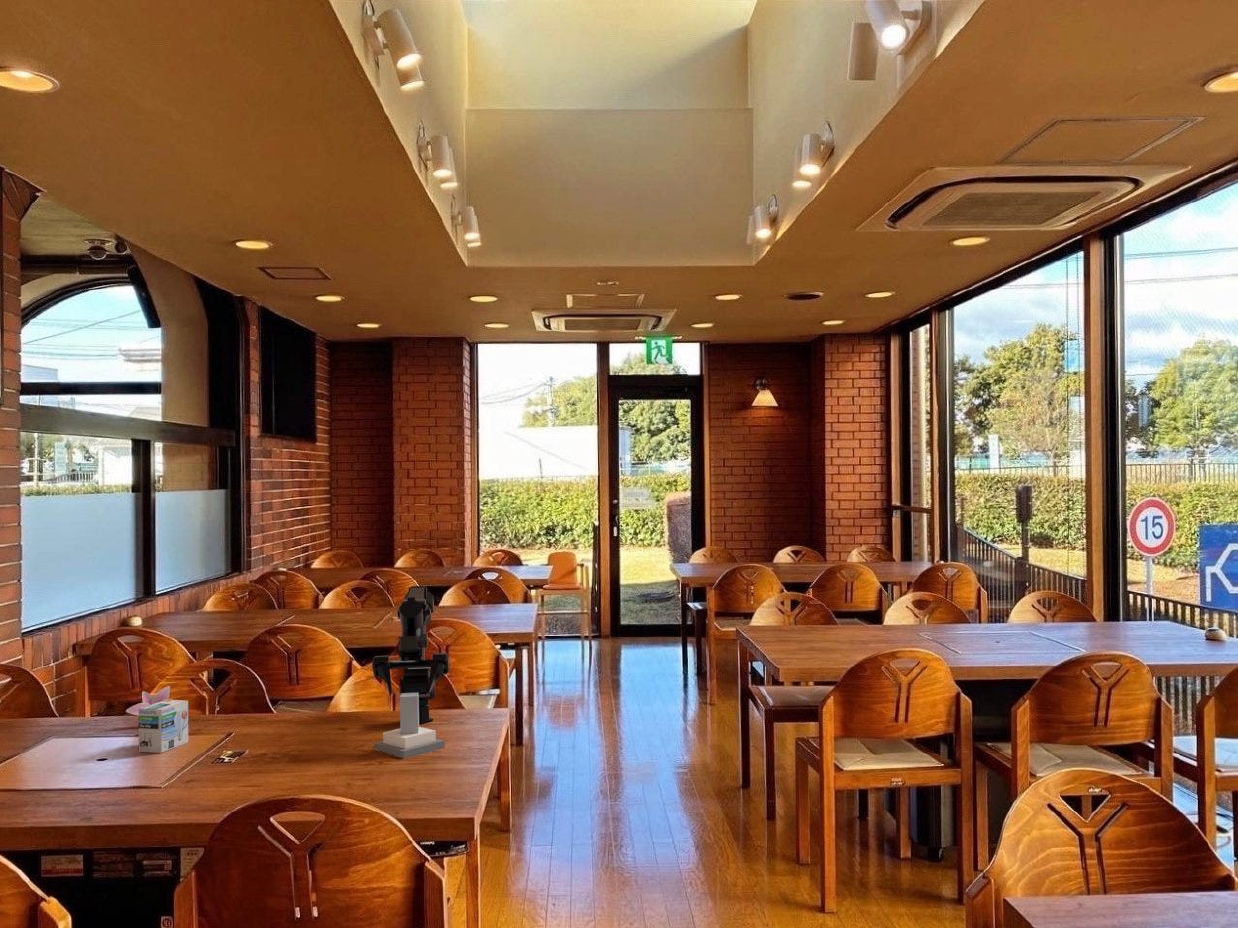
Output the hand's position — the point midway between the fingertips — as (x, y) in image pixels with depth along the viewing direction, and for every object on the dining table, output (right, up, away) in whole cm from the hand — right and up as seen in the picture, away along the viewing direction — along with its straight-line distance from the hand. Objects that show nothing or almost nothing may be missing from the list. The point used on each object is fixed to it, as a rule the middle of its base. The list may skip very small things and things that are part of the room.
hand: (409, 693), depth 236 cm
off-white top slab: (0, -11, -2) cm, 11 cm away
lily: (-76, -15, +26) cm, 81 cm away
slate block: (0, -9, -2) cm, 9 cm away
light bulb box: (-62, -14, +4) cm, 64 cm away
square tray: (0, -14, -2) cm, 14 cm away
